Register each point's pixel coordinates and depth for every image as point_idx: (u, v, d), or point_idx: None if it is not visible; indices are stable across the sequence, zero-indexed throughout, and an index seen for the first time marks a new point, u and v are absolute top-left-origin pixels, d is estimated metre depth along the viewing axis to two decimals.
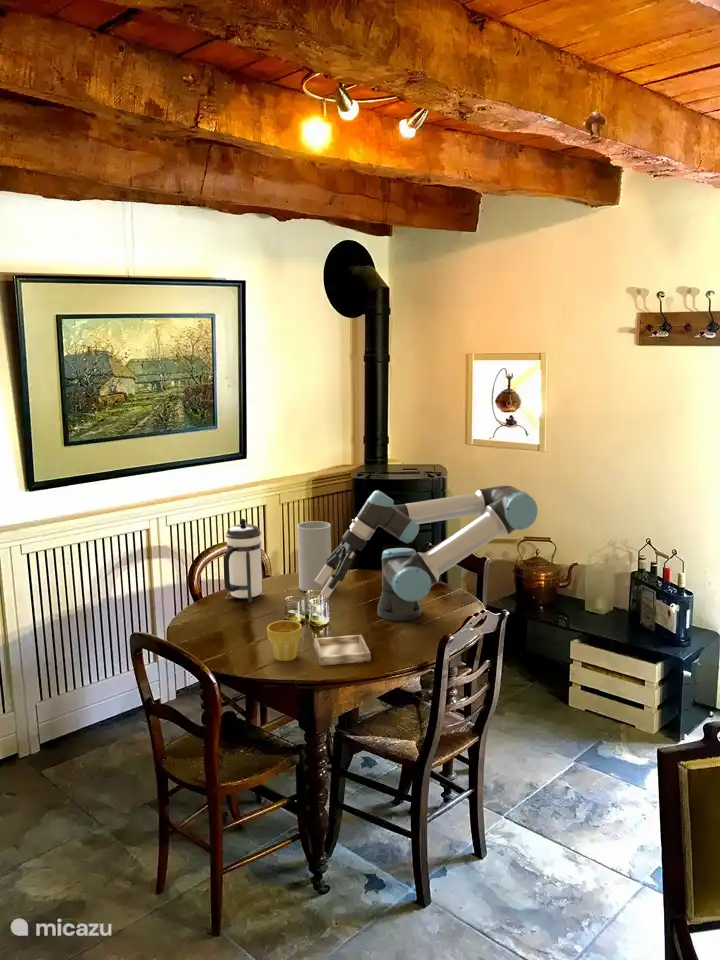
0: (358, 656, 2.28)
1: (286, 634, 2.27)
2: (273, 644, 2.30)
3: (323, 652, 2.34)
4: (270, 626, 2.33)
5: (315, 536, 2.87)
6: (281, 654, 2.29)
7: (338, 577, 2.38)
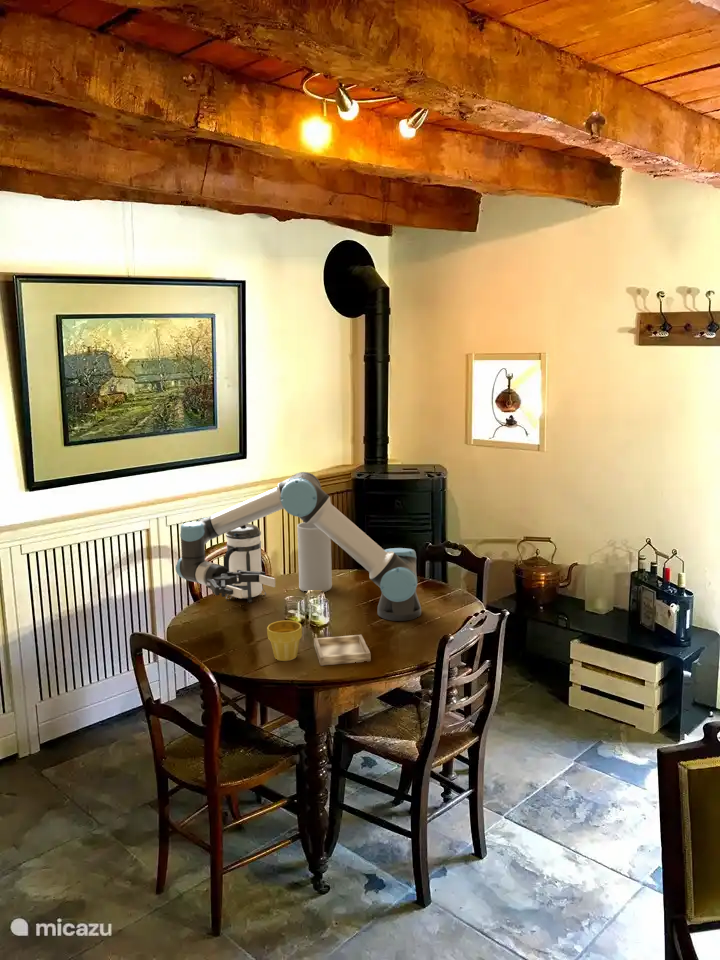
0: (358, 656, 2.28)
1: (286, 634, 2.27)
2: (273, 644, 2.30)
3: (323, 652, 2.34)
4: (270, 626, 2.33)
5: (315, 536, 2.87)
6: (281, 654, 2.29)
7: (215, 592, 2.34)
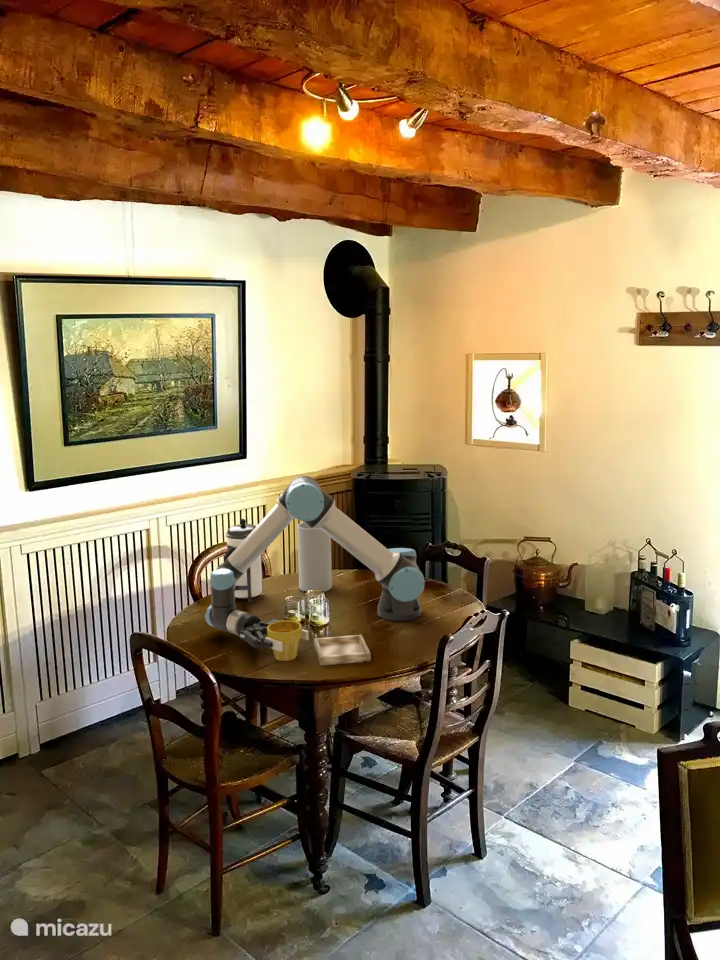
0: (358, 656, 2.28)
1: (286, 634, 2.27)
2: None
3: (323, 652, 2.34)
4: (270, 626, 2.33)
5: (315, 536, 2.87)
6: (281, 654, 2.29)
7: (255, 645, 2.28)
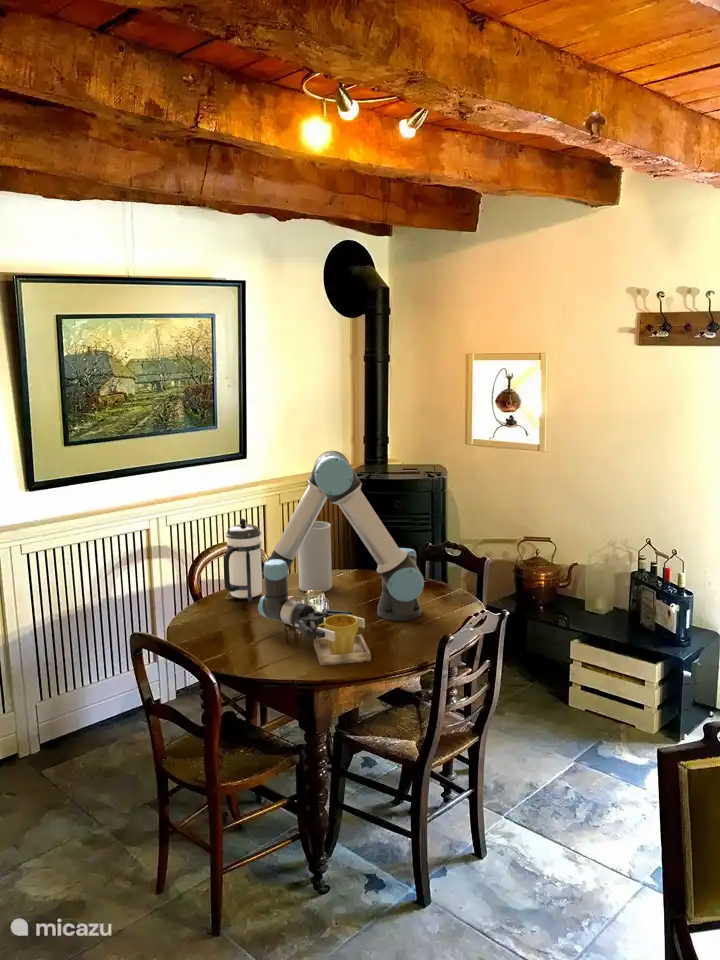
0: (358, 656, 2.28)
1: (344, 628, 2.29)
2: None
3: (323, 652, 2.34)
4: (326, 620, 2.35)
5: (315, 536, 2.87)
6: (338, 648, 2.31)
7: (307, 635, 2.29)
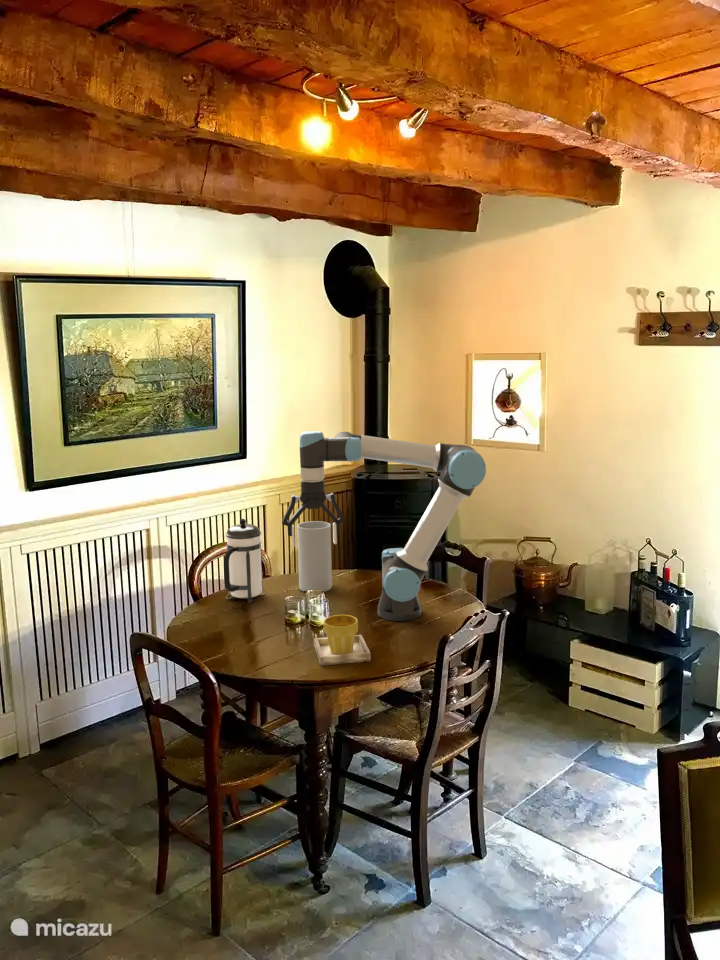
0: (358, 656, 2.28)
1: (344, 628, 2.29)
2: (330, 638, 2.31)
3: (323, 652, 2.34)
4: (326, 620, 2.35)
5: (315, 536, 2.87)
6: (338, 648, 2.31)
7: (282, 522, 2.48)
